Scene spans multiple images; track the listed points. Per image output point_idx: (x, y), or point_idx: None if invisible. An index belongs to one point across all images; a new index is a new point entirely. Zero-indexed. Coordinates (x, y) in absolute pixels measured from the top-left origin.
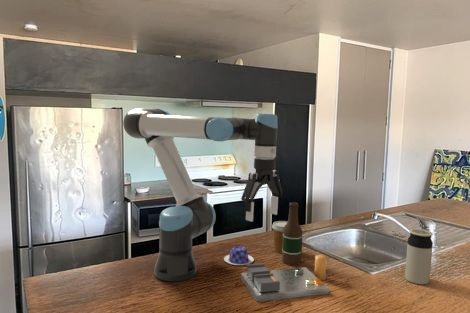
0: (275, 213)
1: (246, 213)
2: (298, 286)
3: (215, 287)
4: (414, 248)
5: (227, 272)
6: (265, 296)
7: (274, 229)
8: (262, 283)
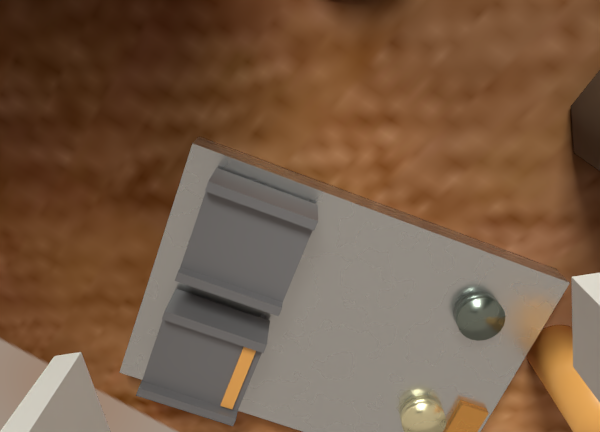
0: (580, 369)
1: (17, 421)
2: (348, 407)
3: (21, 149)
4: None
5: (173, 20)
6: None
7: None
8: (144, 397)
